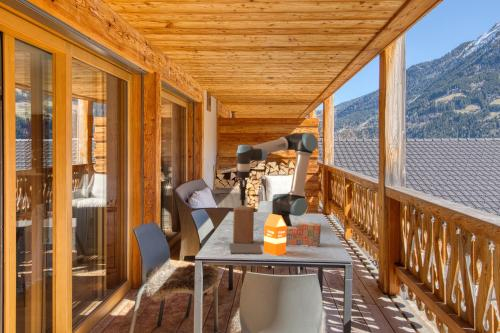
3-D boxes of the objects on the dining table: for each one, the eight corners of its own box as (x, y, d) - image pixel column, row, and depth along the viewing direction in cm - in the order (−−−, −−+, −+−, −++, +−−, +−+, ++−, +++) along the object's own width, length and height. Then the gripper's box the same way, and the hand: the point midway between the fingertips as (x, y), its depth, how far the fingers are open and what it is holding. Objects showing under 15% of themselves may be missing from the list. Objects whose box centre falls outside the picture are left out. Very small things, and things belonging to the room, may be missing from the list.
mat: (258, 244, 244) (258, 243, 244) (261, 254, 224) (262, 252, 224) (229, 244, 243) (229, 243, 243) (230, 254, 223) (230, 252, 223)
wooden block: (250, 245, 244) (250, 209, 243) (232, 243, 246) (233, 208, 245) (253, 241, 253) (254, 206, 252) (236, 240, 255) (237, 206, 254)
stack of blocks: (280, 244, 249) (281, 222, 248) (283, 241, 255) (283, 220, 254) (318, 247, 242) (319, 225, 241) (320, 245, 248) (320, 223, 247)
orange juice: (274, 250, 234) (275, 212, 233) (286, 253, 227) (287, 215, 226) (263, 252, 229) (264, 214, 227) (275, 255, 222) (276, 216, 221)
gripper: (236, 170, 265) (235, 208, 266) (237, 171, 252) (236, 212, 253) (248, 170, 266) (247, 208, 267) (250, 171, 253) (249, 212, 254)
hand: (242, 210), depth 260 cm, fingers closed
